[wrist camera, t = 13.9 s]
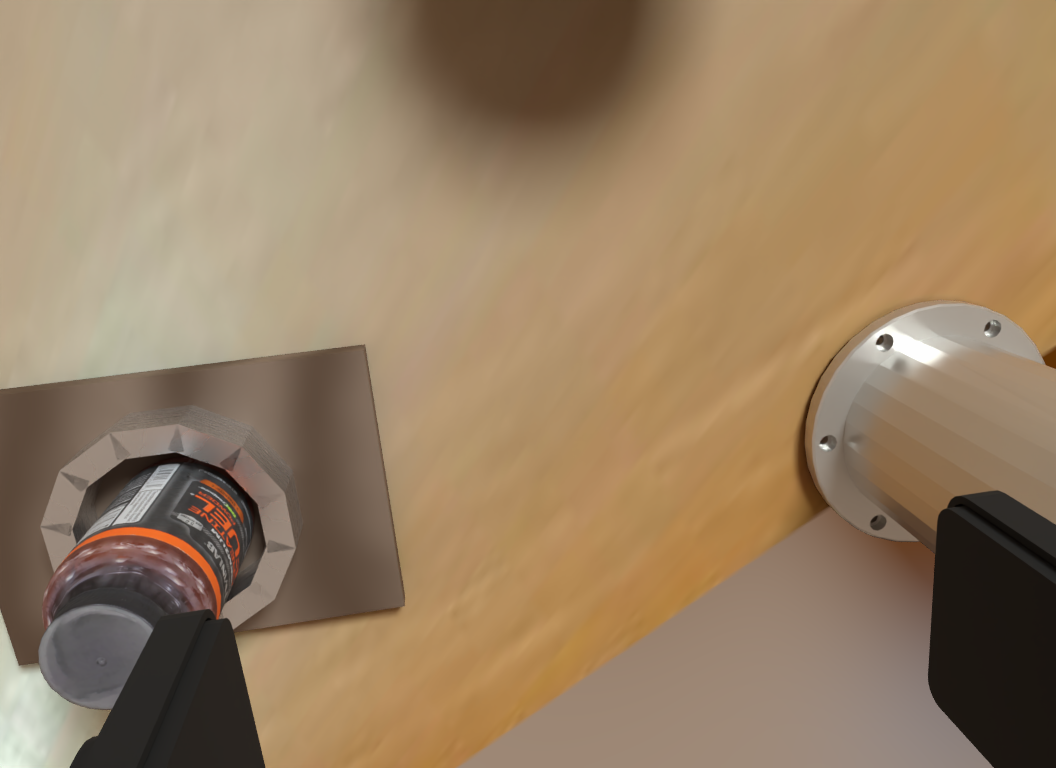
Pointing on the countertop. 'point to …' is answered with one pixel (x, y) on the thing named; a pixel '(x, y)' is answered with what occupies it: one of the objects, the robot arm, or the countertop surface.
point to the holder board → (224, 388)
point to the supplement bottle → (141, 574)
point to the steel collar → (202, 441)
